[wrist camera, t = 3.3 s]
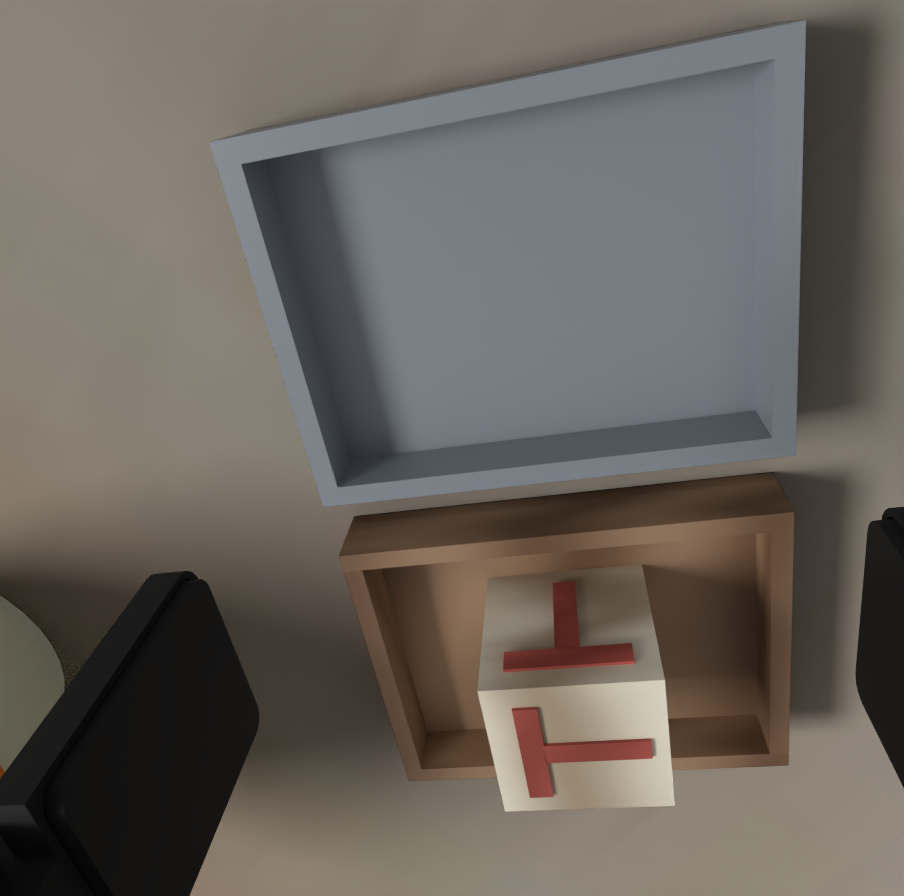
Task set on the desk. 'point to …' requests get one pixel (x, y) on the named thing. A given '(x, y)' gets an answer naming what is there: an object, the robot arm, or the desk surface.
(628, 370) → the grey tray
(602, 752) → the letter cube
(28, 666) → the reusable coffee cup
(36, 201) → the desk surface
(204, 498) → the desk surface
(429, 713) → the walnut tray
